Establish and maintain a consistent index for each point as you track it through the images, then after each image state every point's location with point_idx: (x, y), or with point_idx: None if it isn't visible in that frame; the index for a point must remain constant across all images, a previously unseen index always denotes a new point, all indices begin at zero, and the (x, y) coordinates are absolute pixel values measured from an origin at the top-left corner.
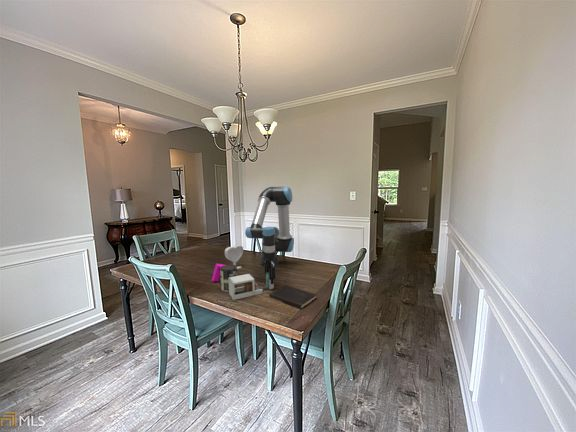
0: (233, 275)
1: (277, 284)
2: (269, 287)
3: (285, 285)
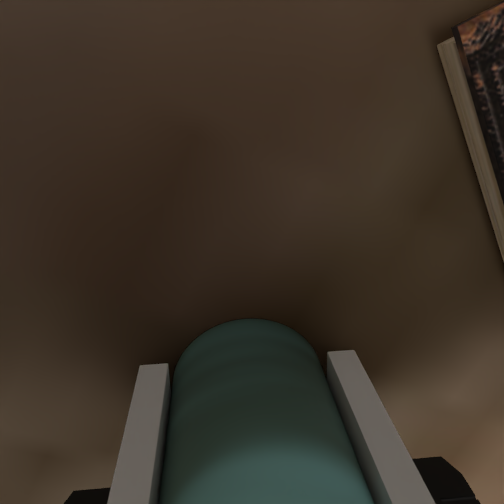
0: None
1: (118, 163)
2: None
3: (480, 61)
